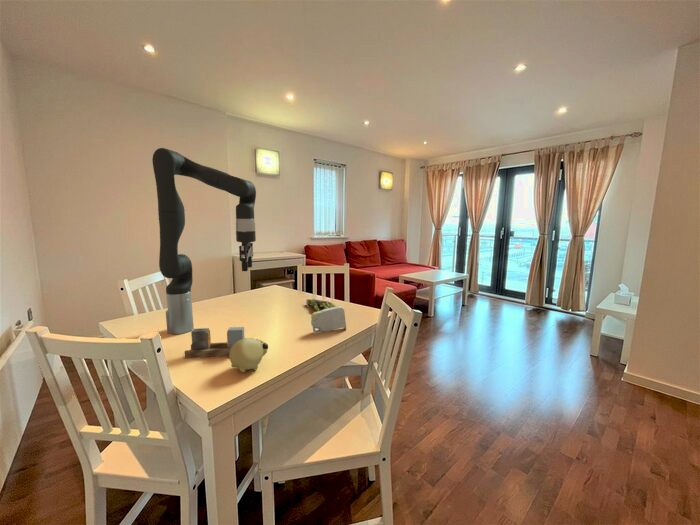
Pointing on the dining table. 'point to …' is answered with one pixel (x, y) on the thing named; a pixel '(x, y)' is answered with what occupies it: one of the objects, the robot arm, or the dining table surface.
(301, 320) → the dining table surface
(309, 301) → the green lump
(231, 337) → the grey rectangular block
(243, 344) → the toy pig
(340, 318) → the grey rectangular slab
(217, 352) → the rail
